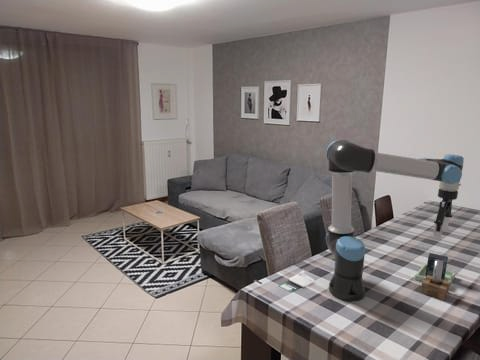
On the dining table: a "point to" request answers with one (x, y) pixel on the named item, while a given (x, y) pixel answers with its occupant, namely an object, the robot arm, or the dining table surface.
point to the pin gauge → (437, 272)
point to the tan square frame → (435, 288)
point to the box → (431, 263)
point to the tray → (422, 272)
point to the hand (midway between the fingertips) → (440, 234)
